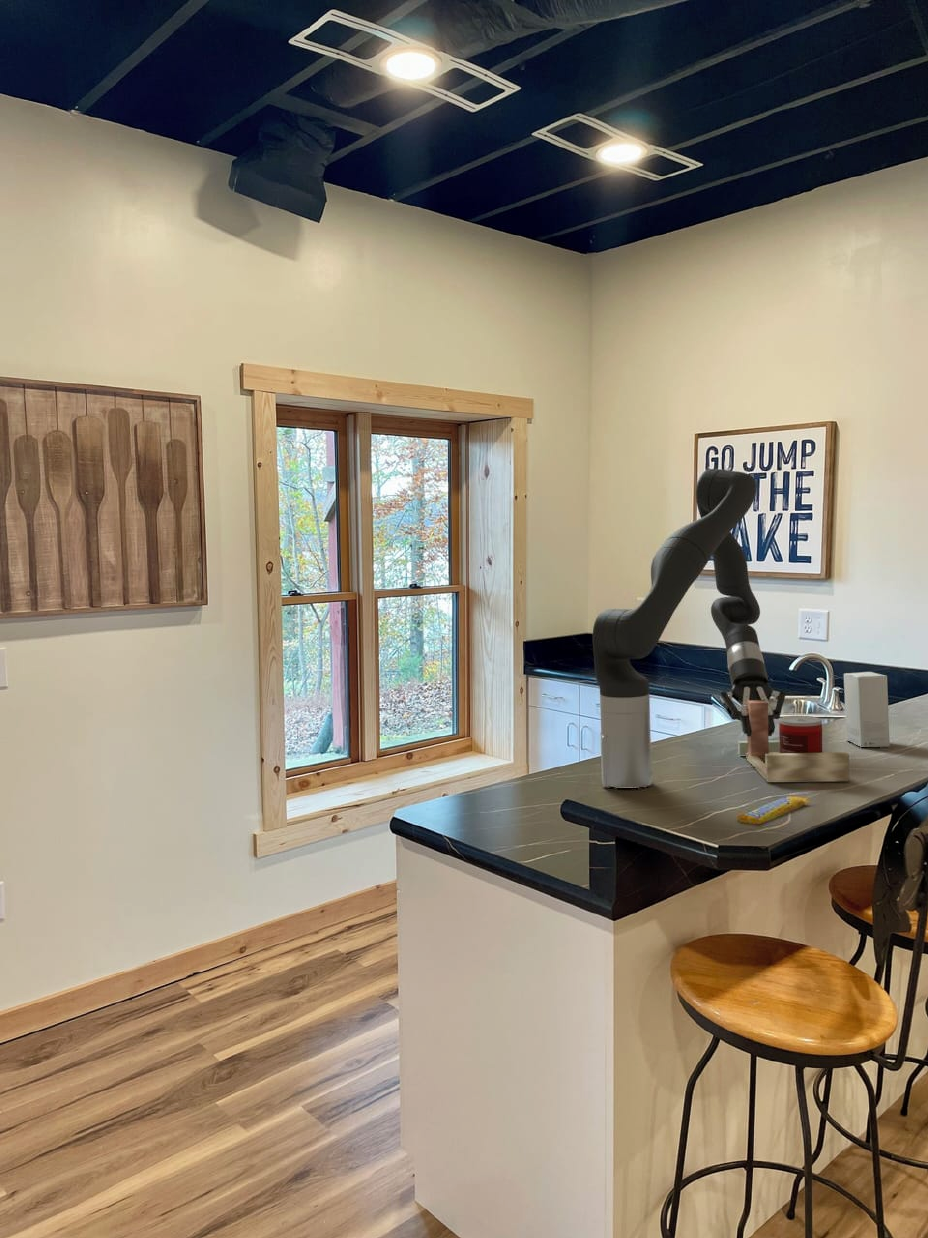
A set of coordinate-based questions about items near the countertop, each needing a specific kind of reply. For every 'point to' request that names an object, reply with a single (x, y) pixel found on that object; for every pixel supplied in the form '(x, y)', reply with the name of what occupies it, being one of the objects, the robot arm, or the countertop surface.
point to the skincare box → (866, 709)
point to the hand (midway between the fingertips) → (759, 733)
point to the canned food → (800, 734)
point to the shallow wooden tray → (789, 755)
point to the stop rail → (773, 746)
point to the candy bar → (772, 810)
